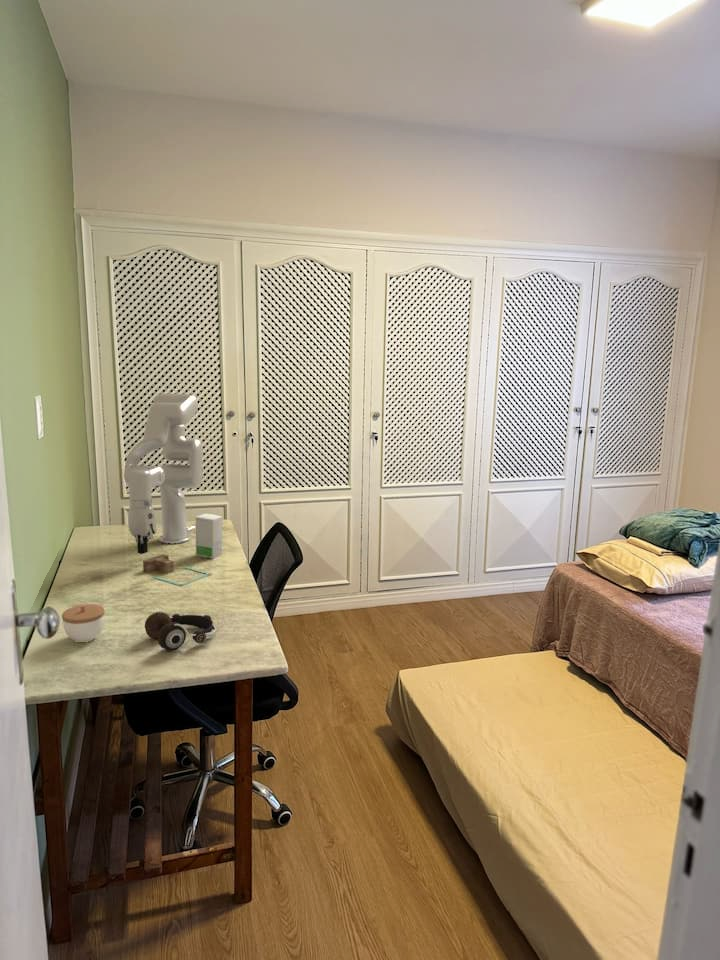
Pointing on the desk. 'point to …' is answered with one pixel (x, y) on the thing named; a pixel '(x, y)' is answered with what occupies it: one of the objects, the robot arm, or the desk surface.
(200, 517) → the skincare box
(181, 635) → the headset
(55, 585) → the desk surface
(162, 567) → the tee block
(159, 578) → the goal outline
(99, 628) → the lidded jar
